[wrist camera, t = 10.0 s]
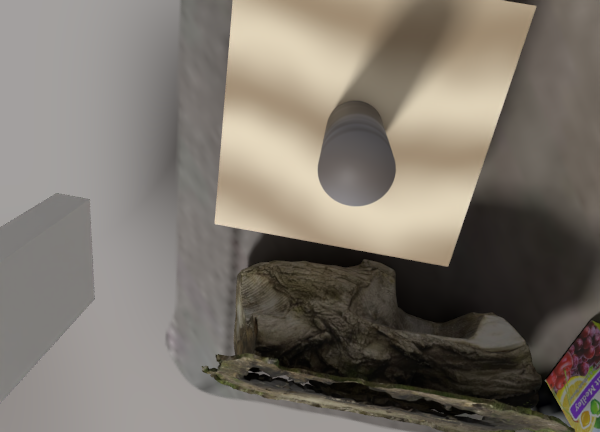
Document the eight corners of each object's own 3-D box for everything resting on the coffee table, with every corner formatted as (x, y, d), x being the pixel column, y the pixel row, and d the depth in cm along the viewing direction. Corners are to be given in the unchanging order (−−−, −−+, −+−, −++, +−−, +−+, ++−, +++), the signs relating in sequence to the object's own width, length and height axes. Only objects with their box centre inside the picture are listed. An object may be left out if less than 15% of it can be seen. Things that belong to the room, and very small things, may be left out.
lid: (248, -37, 27) (186, -71, 16) (515, 7, 26) (621, 0, 16) (226, 205, 33) (172, 288, 23) (439, 244, 33) (480, 346, 23)
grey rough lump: (505, 313, 46) (620, 289, 32) (498, 450, 41) (626, 493, 27) (238, 250, 45) (232, 197, 31) (202, 383, 41) (176, 392, 26)
